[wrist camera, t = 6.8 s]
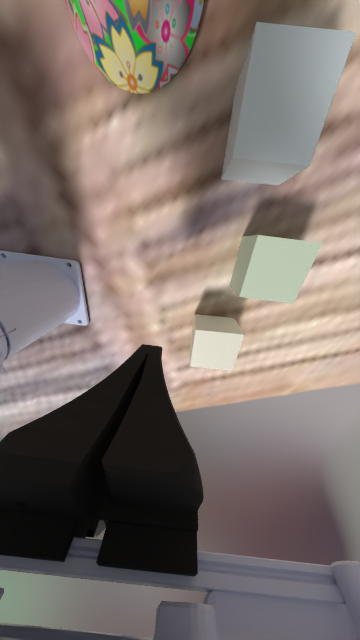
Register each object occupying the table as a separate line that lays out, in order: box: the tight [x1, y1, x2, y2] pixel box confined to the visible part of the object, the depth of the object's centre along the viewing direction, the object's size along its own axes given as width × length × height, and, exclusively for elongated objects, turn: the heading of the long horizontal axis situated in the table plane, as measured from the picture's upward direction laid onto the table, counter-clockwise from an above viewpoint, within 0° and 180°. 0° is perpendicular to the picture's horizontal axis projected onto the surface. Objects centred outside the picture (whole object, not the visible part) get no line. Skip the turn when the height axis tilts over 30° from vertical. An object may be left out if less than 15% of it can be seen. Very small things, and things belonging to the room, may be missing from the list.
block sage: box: [230, 235, 322, 304], centre depth 15 cm, size 5×5×4 cm
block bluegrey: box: [221, 22, 356, 185], centre depth 11 cm, size 5×5×4 cm
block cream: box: [190, 314, 244, 371], centre depth 19 cm, size 5×5×4 cm
